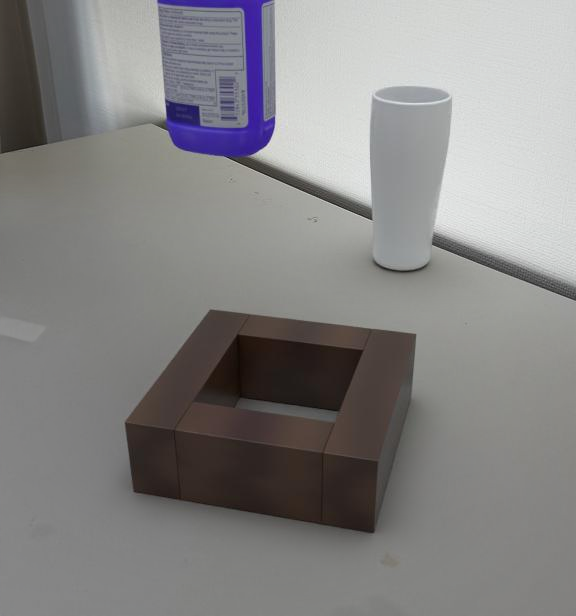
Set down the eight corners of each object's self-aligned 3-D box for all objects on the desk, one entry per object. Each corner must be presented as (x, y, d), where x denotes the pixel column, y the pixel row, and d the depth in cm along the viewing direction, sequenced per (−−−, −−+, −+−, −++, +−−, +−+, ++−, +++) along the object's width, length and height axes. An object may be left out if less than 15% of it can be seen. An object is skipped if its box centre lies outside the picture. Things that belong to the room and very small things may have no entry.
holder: (133, 491, 52) (124, 422, 49) (213, 370, 64) (209, 308, 61) (373, 533, 48) (378, 461, 46) (411, 396, 60) (416, 333, 58)
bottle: (289, 142, 59) (285, -159, 50) (253, 166, 55) (241, -159, 46) (196, 131, 62) (176, -156, 53) (154, 153, 58) (124, -156, 48)
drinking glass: (450, 256, 81) (467, 90, 73) (417, 282, 76) (430, 108, 68) (386, 241, 84) (395, 80, 76) (350, 265, 79) (355, 96, 71)
